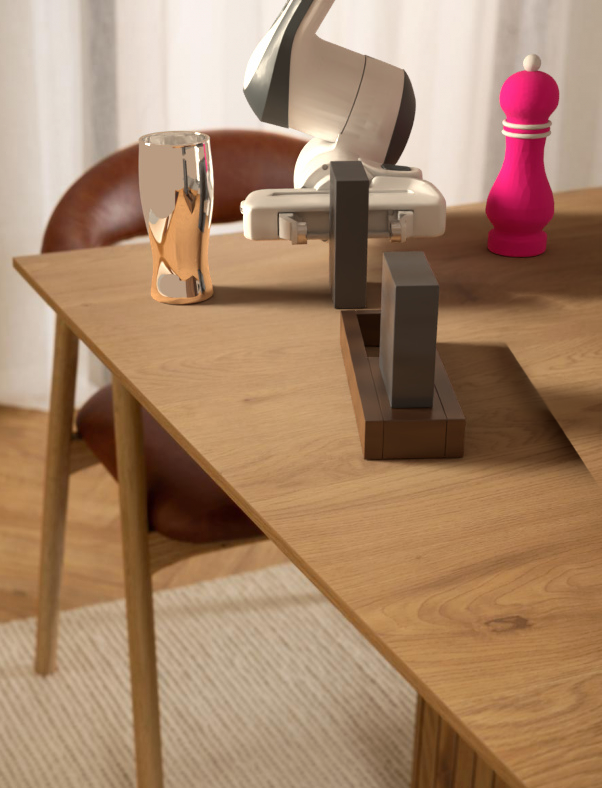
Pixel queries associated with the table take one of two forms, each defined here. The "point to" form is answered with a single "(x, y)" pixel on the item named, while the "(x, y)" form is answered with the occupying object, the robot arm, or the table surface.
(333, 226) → the back pad
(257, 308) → the table surface
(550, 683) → the table surface
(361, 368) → the backrest rail
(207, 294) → the beer glass
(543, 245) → the pepper mill
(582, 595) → the table surface
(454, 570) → the table surface
